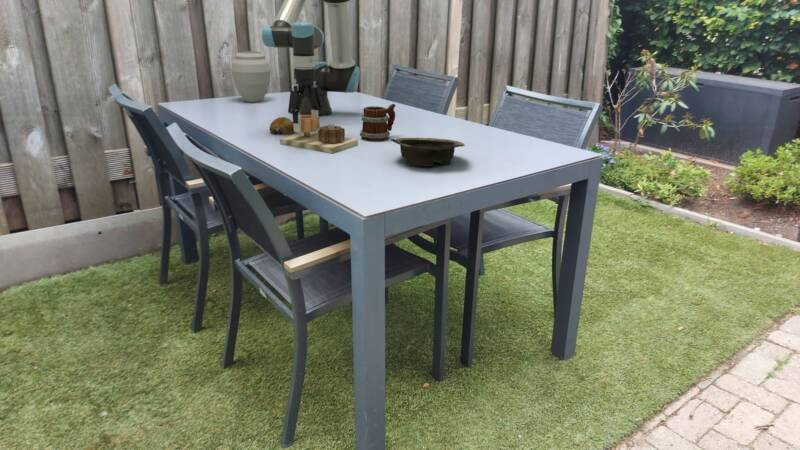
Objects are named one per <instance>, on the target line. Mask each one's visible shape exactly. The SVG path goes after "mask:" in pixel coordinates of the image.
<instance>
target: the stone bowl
mask: <svg viewBox="0 0 800 450" xmlns="http://www.w3.org/2000/svg"><path fill="white" fill-rule="evenodd" d="M390 142H393V143H395V144H397V145H399V146H400V147H399V148H400V154H401V157H402V158H403V159H405V161H406V165H407V166H409V167H416V168H421V167H431V166H432V167H433V166H434V165H435V162H436V163H439V164H440V165H443V166H446V165H450V164H451V163H452V161H453V158H454V154H455V151H456V150H455V149H456V148H458V147H460V148H461V147H465V146H466V145H465V143H463V142H461V141H459V140H452V139H449V138H447V139H445V138H436V137H435V138H434V137H397V138H392V139H390Z"/></svg>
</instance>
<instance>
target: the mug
mask: <svg viewBox="0 0 800 450" xmlns="http://www.w3.org/2000/svg"><path fill="white" fill-rule="evenodd" d="M395 107H396V104H395V103H391V104H390V105H388V107H383V106H374V105H373V106H365V107H363V114H362V115H361V116H360V117H361V121H362V128H361V129H360V131H359V135H360V137H361V140H364V141H367V142H384V141H386V140H387V141H388V139H389V136H390V135H391V133H390V132H391V131H392V129H393V125H394V122H395V118H396V111H395Z"/></svg>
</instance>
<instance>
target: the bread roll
mask: <svg viewBox="0 0 800 450" xmlns="http://www.w3.org/2000/svg"><path fill="white" fill-rule="evenodd" d="M269 132H270V133H271V134H272V135H274V136H275V135H278V136H286V134H288V135H293V134H294V133H295V132H294V129H293V120H292V119H290V118H289V117H285V116H280V117H277V118H276V119H274V120H272V122H271V123H270V125H269Z"/></svg>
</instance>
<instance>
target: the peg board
mask: <svg viewBox="0 0 800 450" xmlns="http://www.w3.org/2000/svg"><path fill="white" fill-rule="evenodd" d="M345 131H346V129H345V127H342V126H340V125H336V124H334V123H333V124H331V123H329V124H327V125H322V126H320V129H318V130H317V131H314V132H300V133H299V132H297V133H295V134H290V135H289V136H285V137H282V138H279V144H280V145H283V146H288V145H289V147H295V148H299V147H300V149H305V150H310V151H315V152H316V151H317V152H321V153H327V154H331V155H332V154H335V153H338V152H341V151H343V150H347V149H350V148H352V147H355V146H359V145H358V144H359V139H358V138H353V137H345V136H346V134H345Z"/></svg>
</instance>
